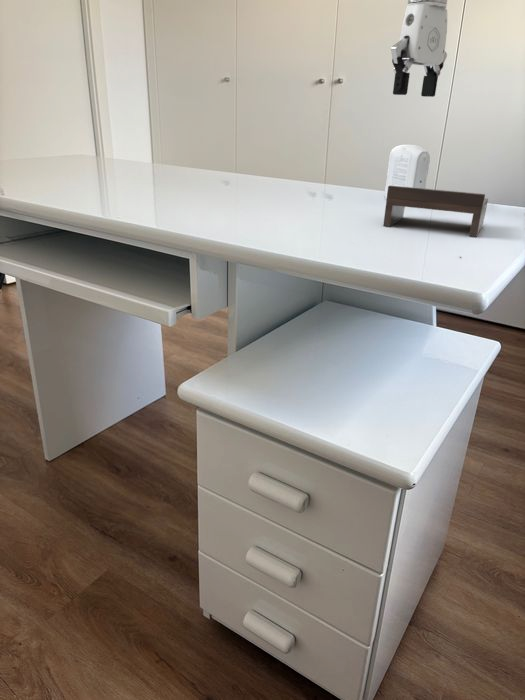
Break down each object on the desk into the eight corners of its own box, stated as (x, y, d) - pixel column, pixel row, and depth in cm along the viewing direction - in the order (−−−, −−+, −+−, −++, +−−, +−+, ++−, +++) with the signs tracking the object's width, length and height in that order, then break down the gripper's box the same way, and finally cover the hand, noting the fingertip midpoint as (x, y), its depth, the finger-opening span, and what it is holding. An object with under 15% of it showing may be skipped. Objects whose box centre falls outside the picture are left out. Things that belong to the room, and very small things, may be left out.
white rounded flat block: (425, 205, 119) (434, 146, 114) (410, 206, 117) (419, 146, 112) (395, 198, 127) (403, 142, 122) (381, 199, 125) (388, 142, 120)
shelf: (397, 216, 106) (402, 179, 103) (482, 226, 100) (490, 187, 97) (383, 226, 97) (388, 186, 94) (476, 237, 91) (484, 194, 88)
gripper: (416, -10, 98) (403, 94, 105) (468, 3, 108) (452, 97, 115) (384, -5, 103) (373, 93, 110) (436, 7, 113) (423, 96, 120)
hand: (414, 95), depth 113 cm, fingers open, 9 cm apart
